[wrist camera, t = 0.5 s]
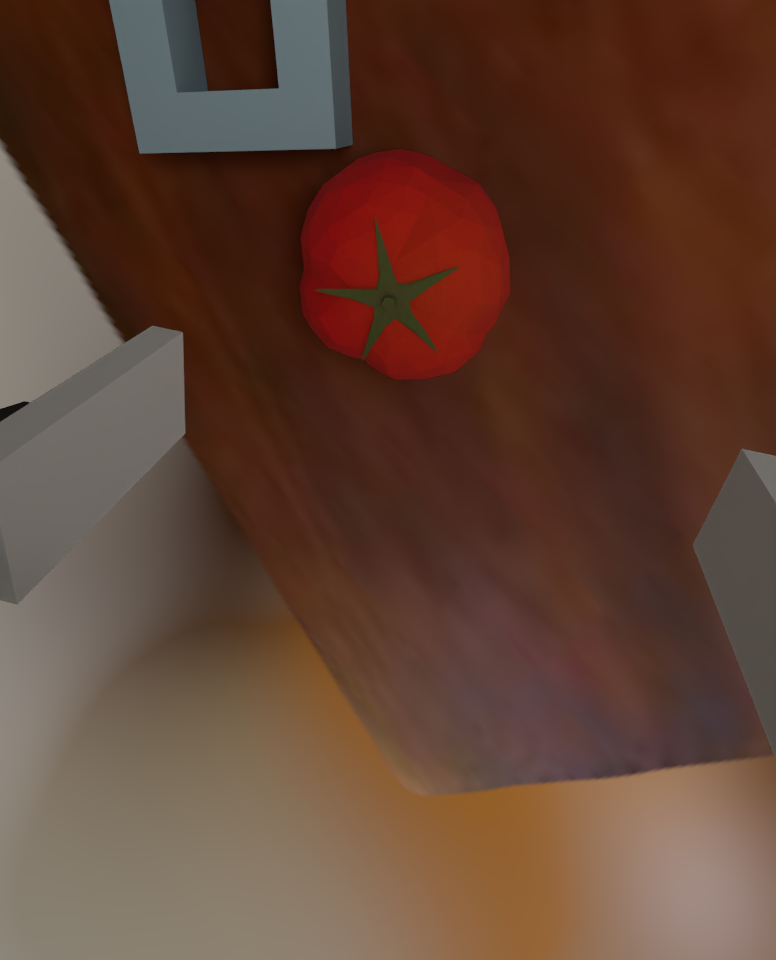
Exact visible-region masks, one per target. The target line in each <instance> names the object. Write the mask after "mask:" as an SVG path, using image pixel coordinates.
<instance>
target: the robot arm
mask: <svg viewBox="0 0 776 960" xmlns="http://www.w3.org/2000/svg"><path fill="white" fill-rule="evenodd" d="M184 434H185V400H184V358H183V332H180V331H175V330H170V329H165V328H161V327H156V326H151V327H150V328H148V329H146V330H145V331H143V332H142V333H140V334H138V335H137V336H135V337H134V338H132V339H131V340H129V341H127V342H126V343H124V344H123V345H121V346H120V347H118V348H116V349H115V350H113V351H112V352H110V353H108V354H107V355H105V356H104V357H102V358H101V359H99V360H97V361H96V362H94V363H93V364H91V365H89V366H88V367H86V368H85V369H83V370H81V371H80V372H78V373H77V374H75V375H74V376H72V377H71V378H69V379H67V380H66V381H64V382H63V383H61V384H59V385H58V386H56V387H55V388H53V389H51V390H50V391H48V392H47V393H45V394H44V395H42V396H40V397H39V398H37V399H36V400H34V401H33V402H31V403H29V402H21V403H18V404H15V405H12V406H9V407H6V408H2V409H0V600H2V601H6V602H10V603H14V604H18V603H19V602H20V601H21V600H22V599H23V598H24V597H25V596H26V595H27V594H28V593H29V592H30V591H31V590H32V589H33V588H34V587H35V586H36V585H37V584H38V583H39V582H40V581H41V580H42V579H43V578H44V577H45V576H46V575H47V574H48V573H49V572H50V571H51V570H52V569H53V568H54V566H55V565H57V564H58V563H59V561H60V560H61V559H62V558H63V557H64V556H65V555H66V554H67V553H68V552H69V551H70V550H71V549H72V548H73V547H74V546H75V545H76V544H77V543H78V542H79V541H80V540H81V539H82V538H83V537H84V536H85V535H86V534H87V533H88V532H89V531H90V530H91V529H92V528H93V527H94V526H95V525H96V524H97V523H98V522H99V521H100V520H101V519H102V518H103V517H104V516H105V515H106V514H107V512H108V511H110V510H111V508H113V506H114V505H116V503H117V502H118V501H119V500H120V499H121V498H122V497H123V496H124V495H125V494H126V493H127V492H128V491H129V490H130V489H131V488H132V487H133V486H134V485H135V484H136V483H137V482H138V481H139V480H140V479H141V478H142V477H143V476H144V475H145V474H146V473H147V472H148V471H149V470H150V469H151V468H152V467H153V466H154V465H155V464H156V463H157V462H158V461H159V460H160V459H161V458H162V457H163V456H164V455H165V454H166V453H167V452H168V451H169V450H170V449H171V448H172V446H173V445H174V444H175V443H176V442H177V441H178V440H179V439H180V438H181V437H182V436H183V435H184ZM693 547H694V550H695V552H696V555H697V558H698V560H699V563H700V565H701V568H702V571H703V573H704V576H705V578H706V581H707V583H708V586H709V589H710V591H711V594H712V596H713V599H714V602H715V604H716V607H717V609H718V612H719V614H720V617H721V620H722V622H723V625H724V627H725V630H726V633H727V635H728V638H729V640H730V643H731V645H732V648H733V651H734V653H735V656H736V658H737V661H738V664H739V666H740V669H741V671H742V674H743V676H744V679H745V682H746V684H747V687H748V689H749V692H750V695H751V697H752V700H753V702H754V705H755V707H756V710H757V713H758V715H759V718H760V720H761V723H762V725H763V728H764V731H765V733H766V736H767V738H768V741H769V744H770V746H771V749H772V751H773V754H774V756H775V759H776V456H773V455H769V454H764V453H759V452H754V451H749V450H745V449H741V451H740V453H739V455H738V457H737V459H736V461H735V463H734V465H733V467H732V469H731V471H730V473H729V475H728V477H727V479H726V481H725V483H724V485H723V487H722V489H721V491H720V493H719V495H718V497H717V498H716V500H715V502H714V504H713V506H712V508H711V510H710V512H709V514H708V516H707V518H706V520H705V522H704V524H703V526H702V528H701V530H700V532H699V534H698V536H697V538H696V540H695V542H694V544H693Z"/></svg>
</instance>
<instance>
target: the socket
mask: <svg viewBox="0 0 776 960" xmlns="http://www.w3.org/2000/svg"><path fill="white" fill-rule="evenodd" d="M109 2H110V7H111V12H112V17H113V22H114V27H115V32H116V37H117V42H118V48H119V53H120V58H121V63H122V68H123V73H124V78H125V83H126V88H127V93H128V98H129V103H130V108H131V113H132V118H133V123H134V128H135V133H136V139H137V144H138V149H139V154H140V153H182V152H223V151H264V150H305V149H337V148H341V147H346V146H350V145H353V139H352V119H351V99H350V79H349V59H348V39H347V19H346V0H270V2H271V12H272V22H273V33H274V43H275V53H276V64H277V74H278V84H279V88H278V89H254V90H229V91H208V87H207V80H206V73H205V66H204V59H203V52H202V45H201V38H200V31H199V24H198V17H197V11H196V4H195V0H109Z"/></svg>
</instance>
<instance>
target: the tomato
mask: <svg viewBox="0 0 776 960" xmlns="http://www.w3.org/2000/svg"><path fill="white" fill-rule="evenodd" d="M301 247H302V256H303V265H304V271H303V275H302V279H301V283H300V287H299V288H300V296H301V304H302V313H303V316H304V317H305V319H306V321H307V322H308V324H309V325H310V327H311V329H312V330H313V332H314V333H315V334H316V335H317V336H318V337H319V338H320V340H321V341H322V342H323V343H324V344H325V345H326V346H327V348H330V349H332V350H335V351H337V352H340V353H342V354H344V355H347V356H349V357H353V358H360V359H362V361H363V359H364V360H365V361H366V362H367V363H368V364H369V365H370V366H371V367H372V368H374V369H375V370H377V371H379V372H381V373H383V374H385V375H387V376H389V377H391V378H392V379H394V380H412V379H426V378H431V377H435V376H440V375H444V374H448V373H453V372H455V371H456V370H457V369H459V368H460V367H461V366H462V365H463V364H465V363H466V362H467V361H468V360H469V359H471V358H472V357H473V356H474V355H475V354H477V353H478V352H479V351H480V349H481V346H482V343H483V341H484V338H485V336H486V333H487V332H488V331H489V330H490V329H491V328H492V327H493V326H494V325H495V323H496V321H497V318H498V316H499V314H500V312H501V310H502V308H503V306H504V304H505V302H506V300H507V298H508V296H509V294H510V258H509V254H508V250H507V246H506V242H505V238H504V234H503V230H502V226H501V223H500V219H499V215H498V211H497V209H496V207H495V206H494V204H493V203H492V201H491V200H490V198H489V197H488V195H487V194H486V192H485V191H484V189H483V188H482V186H481V185H480V183H479V182H477V181H475V180H473V179H471V178H469V177H468V176H466V175H464V174H462V173H460V172H458V171H457V170H455V169H453V168H451V167H449V166H447V165H446V164H444V163H442V162H440V161H438V160H436V159H435V158H433V157H431V156H429V155H427V154H423V153H418V152H413V151H408V150H403V149H395V150H388V151H381V152H375V153H372V154H369V155H366V156H363V157H360V158H358V159H356V160H355V161H354V162H352V163H351V164H350V165H348V166H347V167H346V168H344V169H343V170H342V171H340V172H339V173H338V174H336V175H335V176H334V177H332V178H331V179H330V180H328V181H327V182H326V183H324V184H323V185H322V187H321V189H320V190H319V192H318V193H317V195H316V197H315V198H314V200H313V201H312V203H311V205H310V206H309V208H308V211H307V215H306V218H305V222H304V225H303V228H302V232H301ZM362 361H361V362H362Z"/></svg>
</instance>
